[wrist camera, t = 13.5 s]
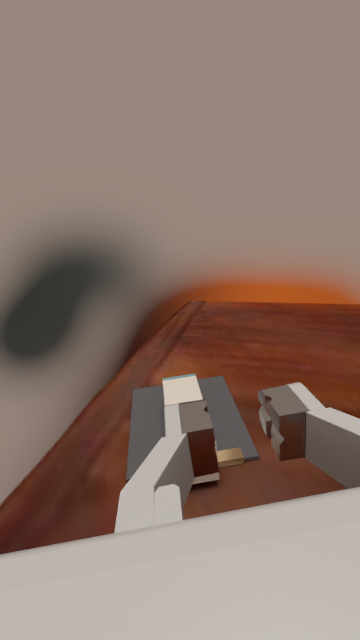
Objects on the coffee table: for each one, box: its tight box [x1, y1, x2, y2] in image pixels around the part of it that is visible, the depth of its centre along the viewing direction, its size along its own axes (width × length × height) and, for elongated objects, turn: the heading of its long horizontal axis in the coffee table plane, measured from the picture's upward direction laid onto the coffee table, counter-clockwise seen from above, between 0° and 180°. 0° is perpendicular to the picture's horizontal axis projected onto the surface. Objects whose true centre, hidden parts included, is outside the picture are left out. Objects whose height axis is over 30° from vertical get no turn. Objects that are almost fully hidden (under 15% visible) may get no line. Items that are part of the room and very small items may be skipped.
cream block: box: [163, 374, 219, 484], centre depth 35 cm, size 5×5×14 cm
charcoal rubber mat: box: [126, 376, 259, 482], centre depth 40 cm, size 16×17×1 cm
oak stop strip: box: [217, 447, 244, 468], centre depth 32 cm, size 12×2×1 cm, turn 97°
